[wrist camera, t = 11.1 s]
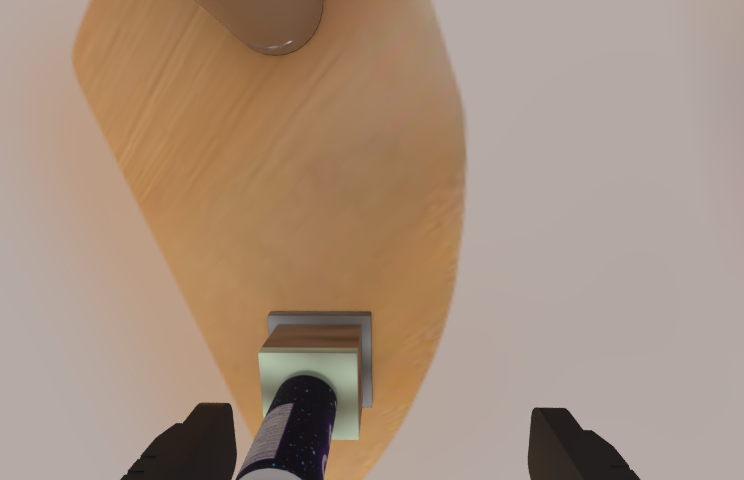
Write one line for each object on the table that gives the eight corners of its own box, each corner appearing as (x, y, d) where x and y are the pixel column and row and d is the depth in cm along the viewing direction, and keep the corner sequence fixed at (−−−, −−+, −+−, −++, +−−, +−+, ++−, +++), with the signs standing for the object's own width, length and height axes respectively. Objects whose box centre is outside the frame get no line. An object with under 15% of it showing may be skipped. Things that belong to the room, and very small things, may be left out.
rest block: (270, 311, 39) (246, 342, 32) (370, 311, 39) (367, 343, 32) (277, 400, 41) (256, 447, 35) (372, 401, 41) (369, 449, 34)
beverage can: (285, 427, 34) (233, 565, 22) (271, 373, 33) (210, 489, 21) (343, 419, 34) (322, 555, 22) (332, 365, 32) (303, 477, 21)
